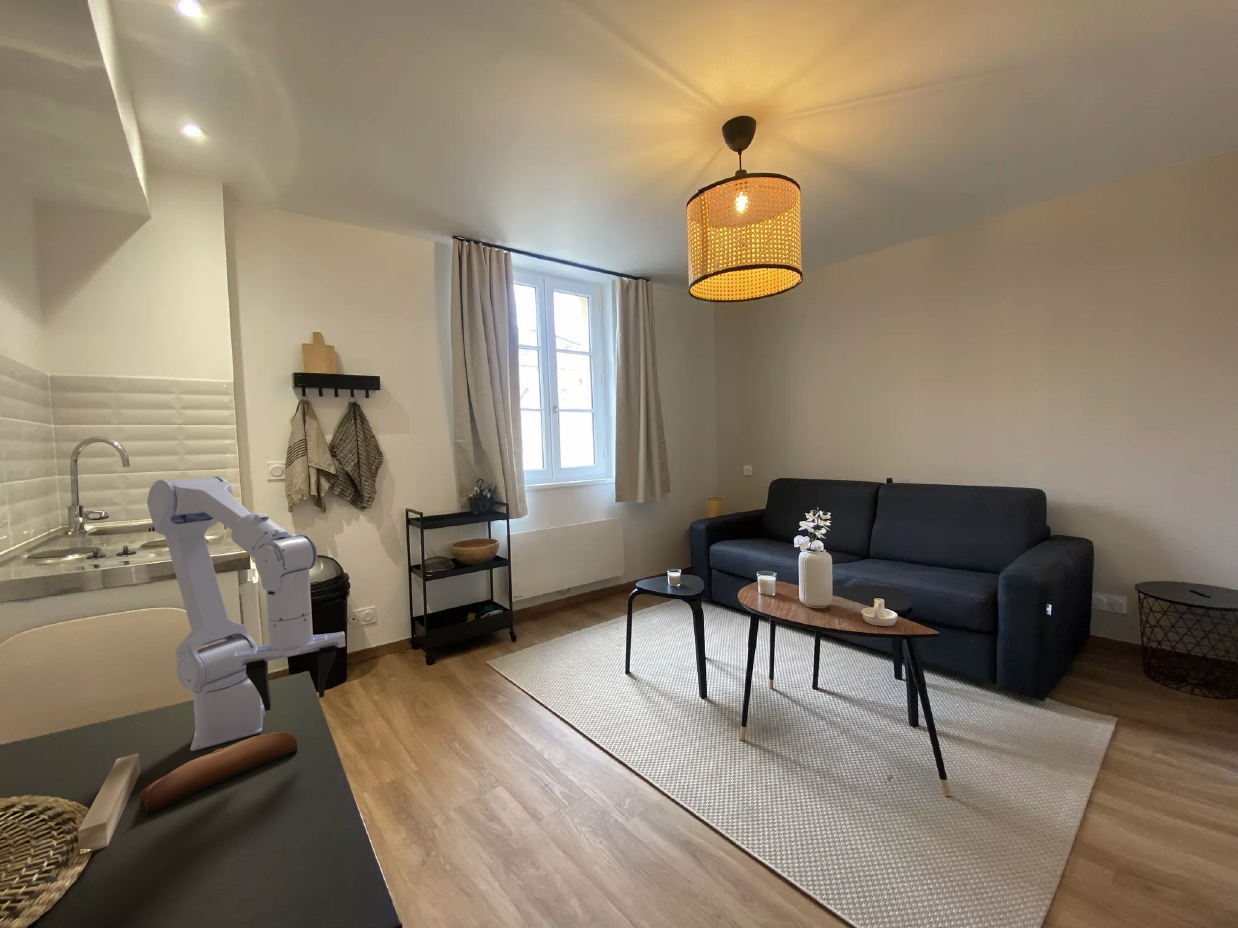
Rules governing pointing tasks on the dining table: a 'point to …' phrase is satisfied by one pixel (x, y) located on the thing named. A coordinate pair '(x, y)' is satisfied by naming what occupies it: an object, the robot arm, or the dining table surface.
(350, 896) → the dining table surface
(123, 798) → the bar
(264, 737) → the sunglasses case
